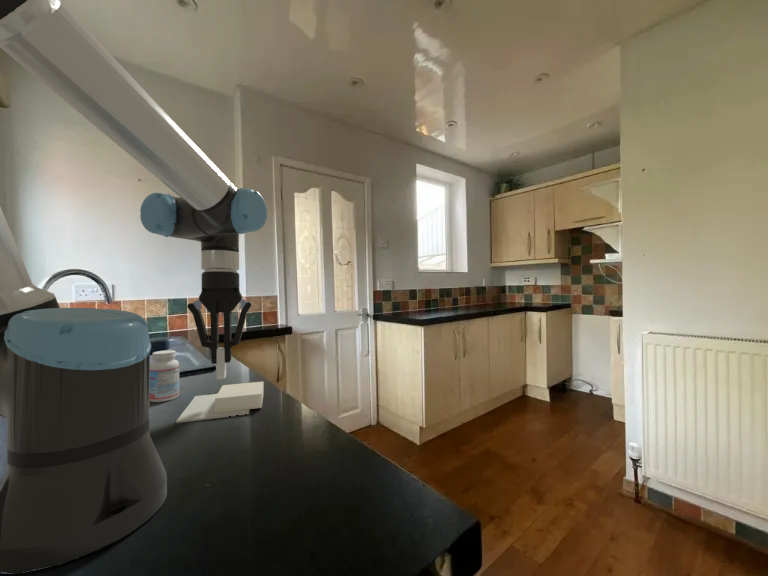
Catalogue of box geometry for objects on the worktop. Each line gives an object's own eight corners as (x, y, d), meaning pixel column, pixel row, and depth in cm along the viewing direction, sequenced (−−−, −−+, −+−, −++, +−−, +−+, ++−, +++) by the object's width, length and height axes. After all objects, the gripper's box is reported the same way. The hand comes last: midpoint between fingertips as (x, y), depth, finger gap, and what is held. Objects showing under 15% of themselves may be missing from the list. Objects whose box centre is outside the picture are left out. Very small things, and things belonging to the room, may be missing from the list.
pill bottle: (148, 398, 78) (148, 351, 78) (178, 393, 82) (177, 348, 82) (148, 405, 73) (148, 355, 73) (180, 399, 77) (180, 352, 77)
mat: (248, 414, 67) (248, 412, 67) (176, 423, 63) (176, 421, 63) (253, 391, 82) (253, 390, 82) (195, 397, 78) (195, 396, 78)
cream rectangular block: (214, 413, 66) (261, 407, 69) (214, 398, 66) (261, 393, 69) (222, 398, 76) (263, 394, 79) (222, 385, 76) (263, 381, 79)
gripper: (253, 272, 77) (254, 371, 77) (191, 272, 73) (192, 376, 73) (251, 270, 70) (252, 379, 70) (182, 270, 66) (183, 385, 66)
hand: (221, 377), depth 72 cm, fingers closed
